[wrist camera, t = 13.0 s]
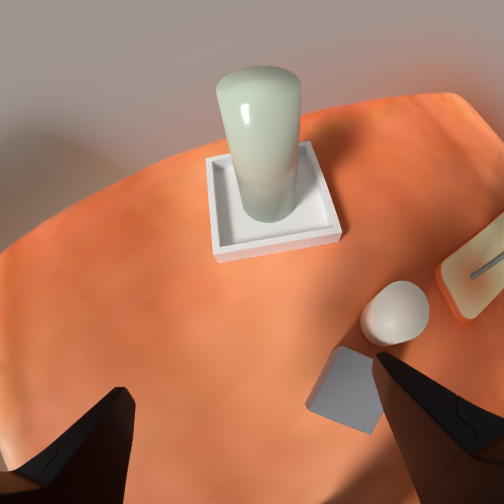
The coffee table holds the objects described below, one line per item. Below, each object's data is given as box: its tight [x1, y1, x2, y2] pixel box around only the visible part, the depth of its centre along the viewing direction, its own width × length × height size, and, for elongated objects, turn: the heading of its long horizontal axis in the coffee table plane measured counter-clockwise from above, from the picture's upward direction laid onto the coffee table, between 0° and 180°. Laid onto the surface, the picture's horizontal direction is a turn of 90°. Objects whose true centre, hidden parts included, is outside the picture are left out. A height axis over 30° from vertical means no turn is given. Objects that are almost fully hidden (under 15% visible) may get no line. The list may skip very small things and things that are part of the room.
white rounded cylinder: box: [360, 281, 429, 347], centre depth 20 cm, size 4×4×4 cm
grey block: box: [305, 346, 383, 435], centre depth 18 cm, size 5×5×4 cm
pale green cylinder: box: [216, 66, 301, 223], centre depth 21 cm, size 5×5×13 cm
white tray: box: [206, 141, 342, 263], centre depth 27 cm, size 11×11×2 cm
